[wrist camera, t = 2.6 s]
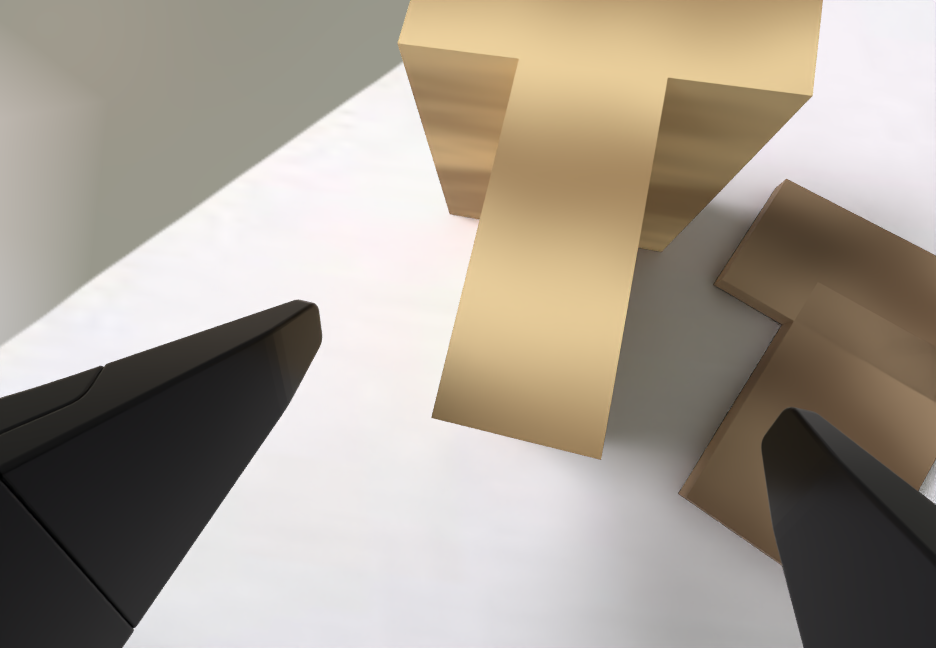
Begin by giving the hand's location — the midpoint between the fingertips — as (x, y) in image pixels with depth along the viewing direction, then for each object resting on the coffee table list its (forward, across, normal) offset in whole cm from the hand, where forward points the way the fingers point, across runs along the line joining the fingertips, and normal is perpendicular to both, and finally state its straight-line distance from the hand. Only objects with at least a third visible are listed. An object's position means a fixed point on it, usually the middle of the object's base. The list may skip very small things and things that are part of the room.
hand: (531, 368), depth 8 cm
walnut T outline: (+10, -13, +5) cm, 17 cm away
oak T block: (+12, 0, +4) cm, 12 cm away
